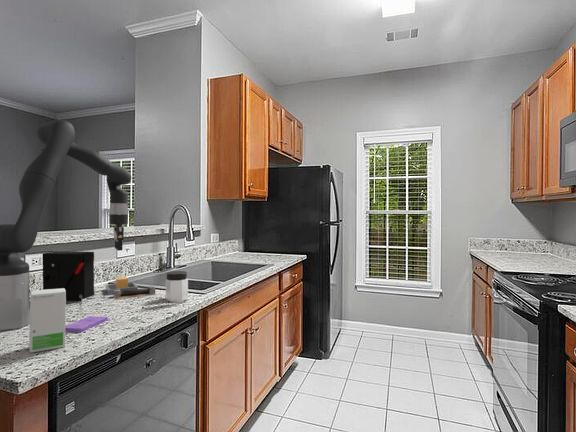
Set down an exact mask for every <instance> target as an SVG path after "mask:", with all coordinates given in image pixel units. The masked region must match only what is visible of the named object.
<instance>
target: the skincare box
mask: <svg viewBox="0 0 576 432" xmlns="http://www.w3.org/2000/svg"><path fill="white" fill-rule="evenodd" d="M29 294H30V323H29V334H28V335H29V339H28V341H29V353H32V354H33V353H37V352H42V351H48V350H54V349H60V348H61V347H62V348H65V347H66V331H65V326H66V309H67V308H66V303H67V301H66V291H65V288H61V289H46V290H43V289H38V290H36V289H35V290H30V291H29ZM62 348H61V349H62Z"/></svg>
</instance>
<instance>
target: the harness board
mask: <svg viewBox="0 0 576 432" xmlns="http://www.w3.org/2000/svg"><path fill="white" fill-rule="evenodd" d="M112 295H113V298H114V299H115V300H123V299H132V298H139V297H148V296H156V295H157V293H156V286H155V285H150V286H147V287H141V288H140V287H138V289H130V290H121V291H120V289H119V290H114V294H112Z"/></svg>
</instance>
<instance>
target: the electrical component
mask: <svg viewBox="0 0 576 432" xmlns="http://www.w3.org/2000/svg"><path fill="white" fill-rule="evenodd" d="M94 264H95V252H94V251H69V250H67V251H62V250H61V251H60V250H59V251H50V252H49V251H48V252H44V253H43V252H42V290H46V289H61V288H65V291H66V302H83V299H88V298H91V297H93V296H95V293H96V291H95V266H94Z"/></svg>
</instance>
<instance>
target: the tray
mask: <svg viewBox="0 0 576 432" xmlns="http://www.w3.org/2000/svg"><path fill="white" fill-rule="evenodd" d="M119 289H120V291H121V290H130V289H139V286H138V285H137V284H136V282H134V281H132V282H128V288H118V289H116V283H113V284H106V285H105V291H106V293H107V295H108V296H109V295H113V294H114V290H119Z"/></svg>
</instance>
